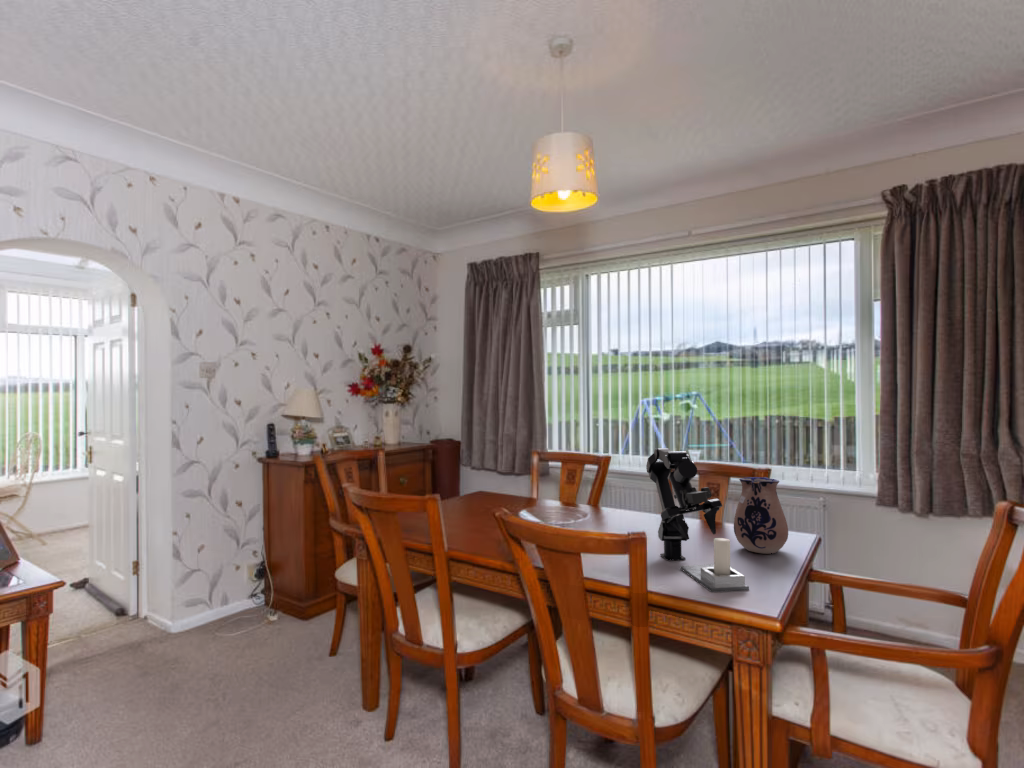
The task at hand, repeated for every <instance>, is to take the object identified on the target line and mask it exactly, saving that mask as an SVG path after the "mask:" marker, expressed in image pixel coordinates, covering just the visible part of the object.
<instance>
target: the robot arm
mask: <svg viewBox="0 0 1024 768" xmlns="http://www.w3.org/2000/svg"><path fill="white" fill-rule="evenodd" d="M645 468H646V469H645V470H646V473H647V474H648V476H649V478H650V480H651V481H652V482H653V483H655V485H656V490H657V494H658V498H659V503H660V506H661V513H660V517H661V521H660V524H659V527H658V531H657V533H658V535H657V536H658V539H659V540H660V541H661V542H663V553H660V556H661V555H662V556H663V557H664V558H663V557H662V556H661V557H662V558H663V559H665V560H666V561H683V560H686V557H685V556H683V555H682V553H683V551H682V541H685V542H687V541H688V540H690V537H689V529H690V528H689V525H688V523H687V522H686V518H685V517H684V515H687V514H691V513H696V512H701V511H702V512H703V513H704V514H703V517H704V520H705V521H706V524H707V525H708V528H709V530H710V532H711V533H712V535H716V534H717V531H716V530H717V526H716V524H717V523H716V517H717V512H718V511H720V509H721V507H723V504H722V501H721V500H720V499H719V498H712V497H713V496H712V491H711V490H710V486H709V487H708V486H707V487H701V488H700V490H697V489H696V487H693V486H692V483H691V482H692V480H694V478H695V476H696V475H697V474H698V468H697V466H696V463H694V461H693V460H692V459H691V456H690V455H689V454H688V452H687V451H686V450H685V451H684V450H682V451H680V450H679V451H676V450H675V451H674V450H671V449H670V448H668V447H657V448H655V449H654V452H653V453H652V454H651V455H650V456H648V458H647V462H646V467H645ZM670 484H671V485H670ZM671 486H672V488H673V492H674V495H673V492H672V488H671ZM711 498H712V499H711ZM674 499H676V500H677V502H678V505H679V506H678V505H676V503H675V500H674Z"/></svg>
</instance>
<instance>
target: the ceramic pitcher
mask: <svg viewBox="0 0 1024 768" xmlns="http://www.w3.org/2000/svg"><path fill="white" fill-rule="evenodd" d="M738 480H739V482H740V484H741V493H740V498H739V501H738V503H737V505H736V506H737V507H736V510H735V515H734V518H733V532H734V536H735V538H736V540H737V541H738V543H739V544H740V545H741V547H742V548H743V549H745V550H747V551H749V552H752V553H755V554H764V555H766V554H767V555H771V553H772V554H775V553H778V552H779V551H780V550H781V549H782V548H784V545H785V544H786V542H787V541H788V538H789V526H788V522H787V518H786V516H785V513H784V510H783V508H782V505H781V501H780V499H779V496H778V492H777V486H778V484H779V483H780V480H779V479H775V478H769V477H767V476H762V477H761V476H760V477H758V476H755V477H751V476H749V477H748V476H747V477H742V478H738Z"/></svg>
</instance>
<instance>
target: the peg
mask: <svg viewBox="0 0 1024 768" xmlns="http://www.w3.org/2000/svg"><path fill="white" fill-rule="evenodd" d="M713 564H714V574H715V575H717V576H721V575H730V567H731V540H730V539H728V538H723V537H715V538H713Z"/></svg>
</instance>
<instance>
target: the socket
mask: <svg viewBox="0 0 1024 768" xmlns="http://www.w3.org/2000/svg"><path fill="white" fill-rule="evenodd" d="M681 569H682V570H681ZM680 570H681V571H683V570H684V571H685V572H686V573H685V572H684V571H683V572H684V573H685V574H687V573H688V574H689V575H690V576H689V575H688V574H687V575H688V576H689V577H691V576H692V577H693V578H694V579H693V578H692V577H691V578H692V579H693V580H695V581H696V580H697V581H698V583H699V584H700V583H701V584H702V585H701V584H700V585H701V586H703V587H704V588H705V589H707V590H708V591H710V592H711V593H718V592H738V591H750V586H749V585H747V584H746V579H745V578H746V575H744V574H743V573H741V572H739V571H737V570H736V569H734V567H733V568H732V567H731V566H730V575H721V576H717V575H715V574H714V563H713V564H712V563H711V564H696V565H695V564H694V565H692V564H691V565H680ZM697 581H696V582H697Z"/></svg>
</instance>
